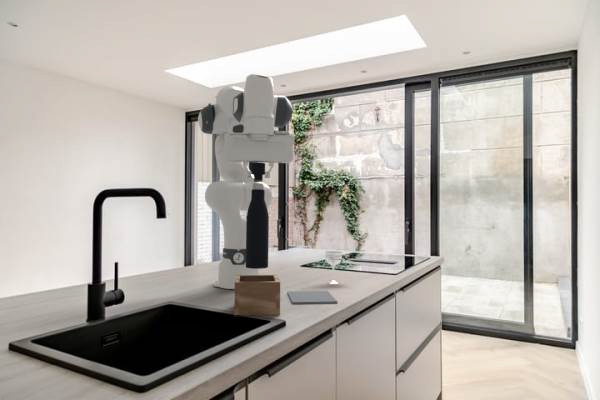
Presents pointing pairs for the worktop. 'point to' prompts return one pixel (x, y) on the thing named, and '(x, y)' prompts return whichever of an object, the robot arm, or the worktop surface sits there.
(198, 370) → the worktop surface
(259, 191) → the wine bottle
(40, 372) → the worktop surface
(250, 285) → the walnut crate
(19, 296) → the worktop surface
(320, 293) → the grey mat
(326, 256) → the wineglass
